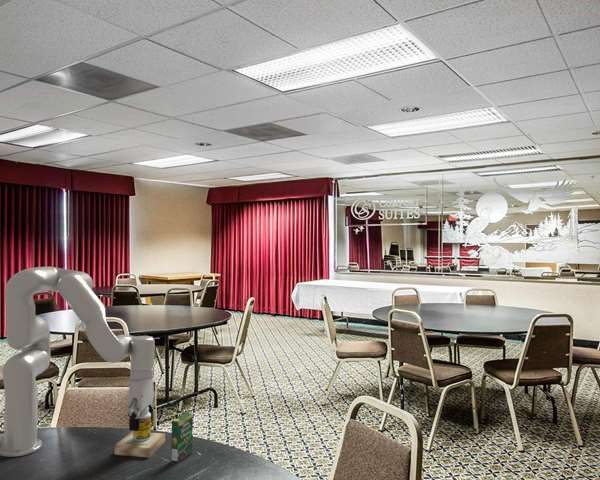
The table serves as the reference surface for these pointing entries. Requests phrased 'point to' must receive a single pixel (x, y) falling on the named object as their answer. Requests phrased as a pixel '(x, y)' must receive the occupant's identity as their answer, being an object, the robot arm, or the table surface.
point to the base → (140, 445)
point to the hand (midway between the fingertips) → (141, 424)
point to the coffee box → (181, 437)
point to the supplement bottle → (143, 425)
